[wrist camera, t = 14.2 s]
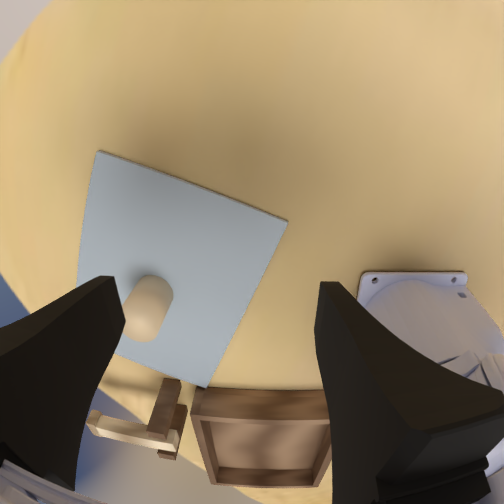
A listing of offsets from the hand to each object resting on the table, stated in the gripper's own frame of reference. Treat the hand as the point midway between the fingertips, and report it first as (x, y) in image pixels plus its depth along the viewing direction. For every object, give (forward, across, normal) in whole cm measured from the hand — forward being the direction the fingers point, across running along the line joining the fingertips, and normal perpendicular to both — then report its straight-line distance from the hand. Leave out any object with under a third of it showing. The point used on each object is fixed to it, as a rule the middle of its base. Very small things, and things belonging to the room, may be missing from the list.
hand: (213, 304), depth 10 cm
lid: (+11, +6, +6) cm, 14 cm away
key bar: (+6, +10, +19) cm, 23 cm away
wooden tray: (+10, -1, +26) cm, 28 cm away
